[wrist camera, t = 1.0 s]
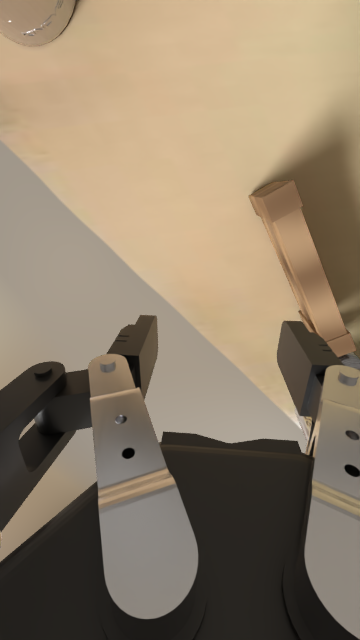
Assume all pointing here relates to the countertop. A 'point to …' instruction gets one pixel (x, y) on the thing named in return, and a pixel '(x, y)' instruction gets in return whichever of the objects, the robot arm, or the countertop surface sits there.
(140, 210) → the countertop surface
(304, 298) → the gate
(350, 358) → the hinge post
